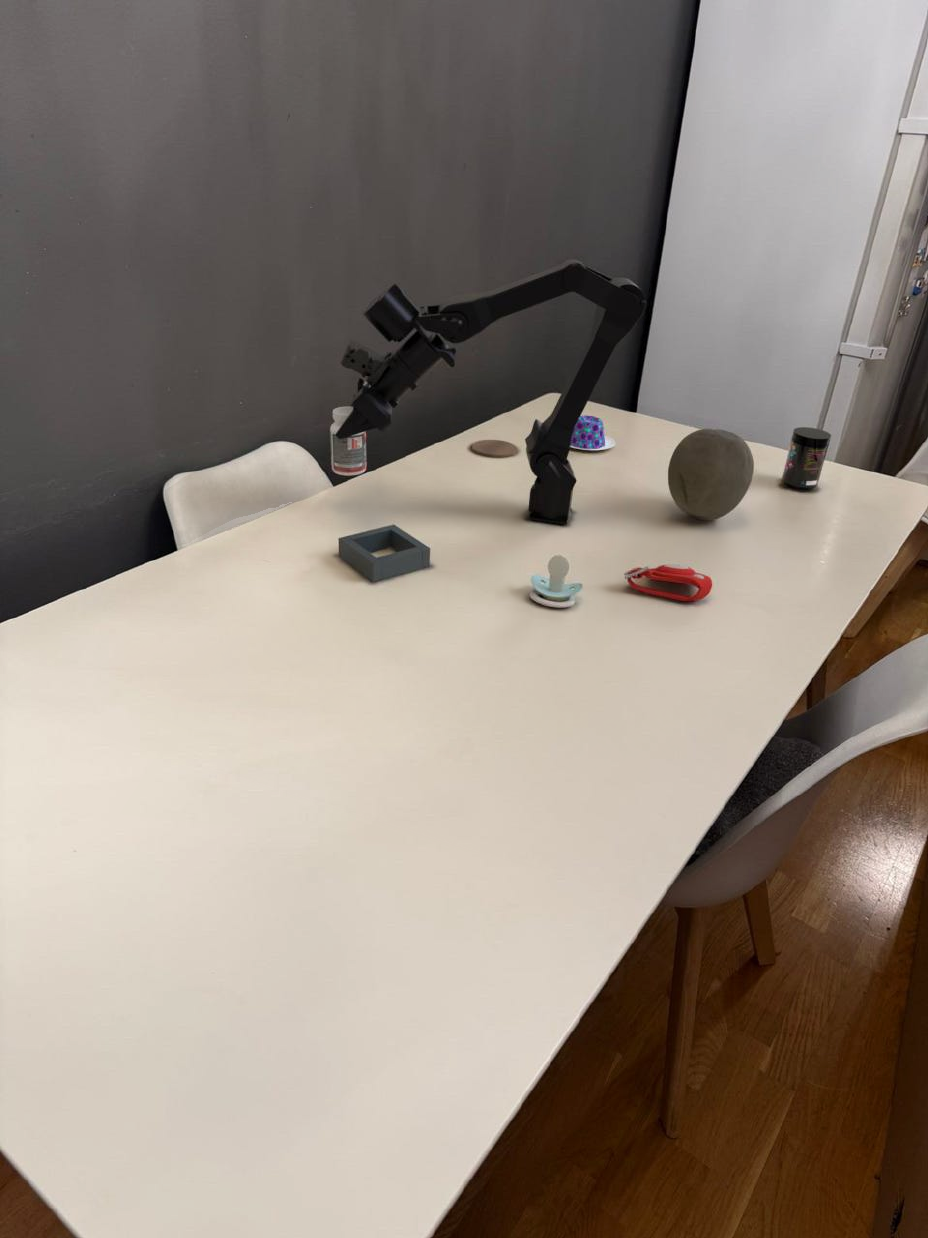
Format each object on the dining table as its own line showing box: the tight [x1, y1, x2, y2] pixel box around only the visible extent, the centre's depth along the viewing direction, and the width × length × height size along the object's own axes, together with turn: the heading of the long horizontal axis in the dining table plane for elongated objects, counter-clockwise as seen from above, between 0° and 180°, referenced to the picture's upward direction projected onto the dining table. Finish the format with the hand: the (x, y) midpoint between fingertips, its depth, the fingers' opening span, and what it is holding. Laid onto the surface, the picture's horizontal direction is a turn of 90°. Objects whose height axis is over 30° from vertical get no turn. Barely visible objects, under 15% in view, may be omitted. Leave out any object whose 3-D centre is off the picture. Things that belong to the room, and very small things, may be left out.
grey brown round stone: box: [667, 428, 755, 522], centre depth 150 cm, size 14×14×15 cm
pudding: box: [570, 415, 616, 451], centre depth 182 cm, size 12×12×5 cm
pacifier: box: [529, 554, 583, 608], centre depth 123 cm, size 7×6×6 cm
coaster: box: [471, 439, 518, 458], centre depth 177 cm, size 9×9×1 cm
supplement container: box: [781, 426, 832, 492], centre depth 166 cm, size 7×7×10 cm
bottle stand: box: [337, 524, 431, 583], centre depth 131 cm, size 10×10×3 cm
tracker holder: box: [623, 564, 713, 602], centre depth 127 cm, size 12×4×10 cm
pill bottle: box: [329, 405, 368, 476], centre depth 142 cm, size 6×6×10 cm
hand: (339, 430), depth 141 cm, fingers closed on pill bottle, 6 cm apart
